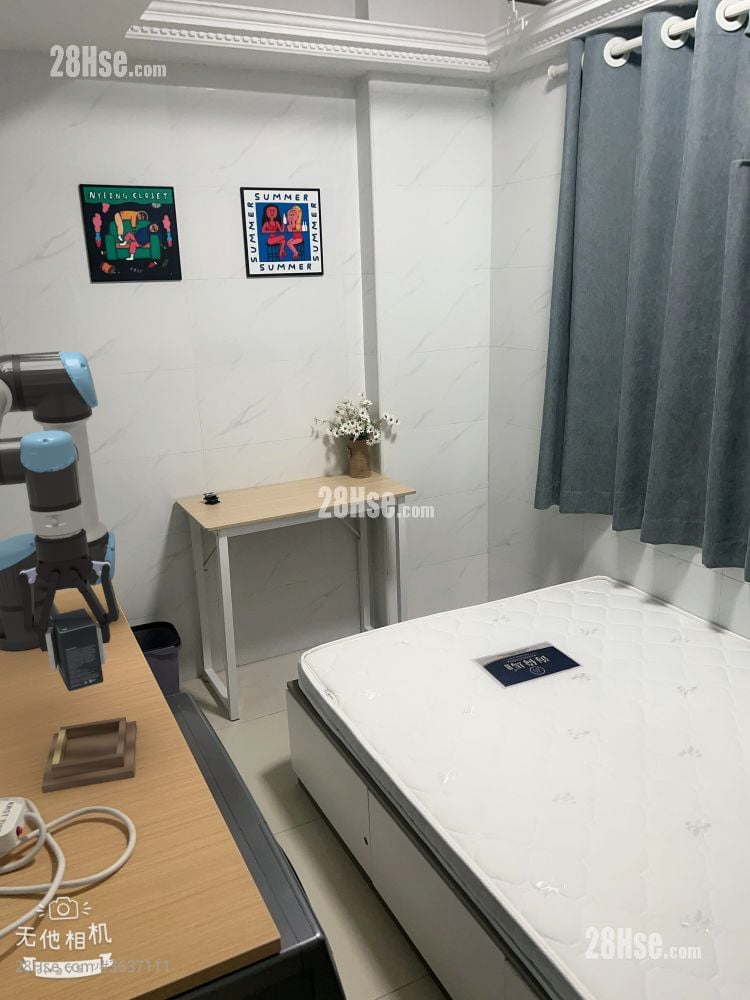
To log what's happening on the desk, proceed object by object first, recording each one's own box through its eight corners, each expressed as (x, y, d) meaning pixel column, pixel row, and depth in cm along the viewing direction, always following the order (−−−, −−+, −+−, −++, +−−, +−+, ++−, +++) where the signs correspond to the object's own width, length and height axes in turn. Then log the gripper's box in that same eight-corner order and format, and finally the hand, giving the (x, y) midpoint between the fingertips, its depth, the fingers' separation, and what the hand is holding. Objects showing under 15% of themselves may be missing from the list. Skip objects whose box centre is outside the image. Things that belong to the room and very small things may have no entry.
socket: (54, 739, 134) (52, 723, 133) (136, 726, 137) (134, 711, 136) (42, 792, 120) (39, 775, 119) (133, 776, 123) (131, 760, 122)
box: (104, 682, 122) (96, 623, 119) (68, 693, 119) (58, 633, 116) (93, 662, 129) (84, 606, 126) (58, 672, 126) (49, 615, 123)
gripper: (-15, 546, 111) (9, 684, 117) (125, 532, 116) (141, 665, 122) (-5, 530, 118) (18, 661, 124) (127, 518, 123) (142, 645, 129)
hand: (79, 663), depth 123 cm, fingers closed on box, 7 cm apart
